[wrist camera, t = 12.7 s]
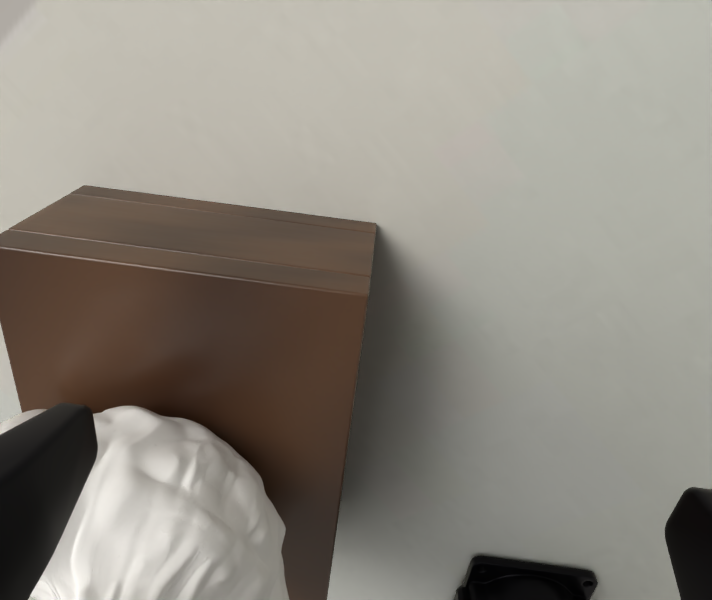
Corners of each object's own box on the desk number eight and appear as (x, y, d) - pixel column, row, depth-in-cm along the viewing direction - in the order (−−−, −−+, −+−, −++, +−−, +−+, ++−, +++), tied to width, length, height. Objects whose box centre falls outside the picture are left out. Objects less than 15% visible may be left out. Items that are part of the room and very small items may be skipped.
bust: (318, 509, 23) (491, 705, 12) (186, 673, 21) (260, 1068, 10) (84, 311, 19) (50, 356, 8) (-105, 491, 17) (-448, 833, 6)
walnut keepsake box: (376, 223, 20) (368, 294, 15) (338, 502, 27) (324, 614, 22) (83, 184, 20) (-21, 243, 15) (122, 473, 27) (60, 577, 22)
